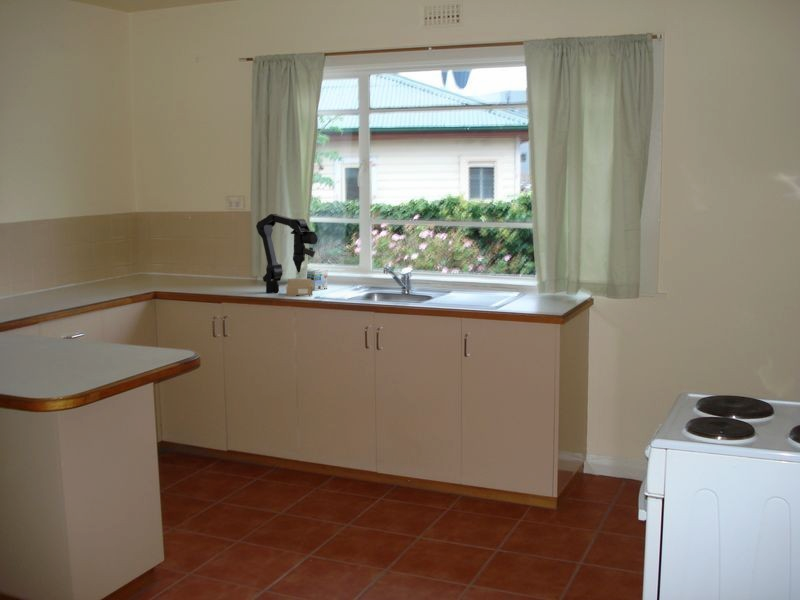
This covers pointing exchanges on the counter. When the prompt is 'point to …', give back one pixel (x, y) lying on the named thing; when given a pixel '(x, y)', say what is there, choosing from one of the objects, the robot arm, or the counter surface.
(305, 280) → the flap near
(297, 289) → the carton
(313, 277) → the light bulb box
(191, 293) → the counter surface
